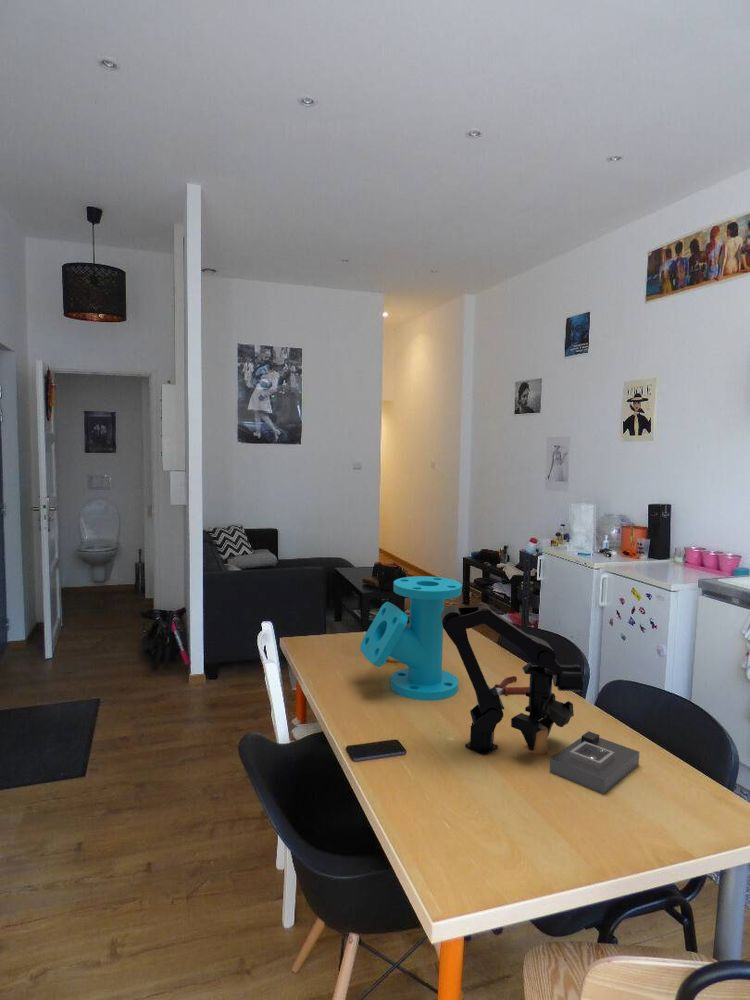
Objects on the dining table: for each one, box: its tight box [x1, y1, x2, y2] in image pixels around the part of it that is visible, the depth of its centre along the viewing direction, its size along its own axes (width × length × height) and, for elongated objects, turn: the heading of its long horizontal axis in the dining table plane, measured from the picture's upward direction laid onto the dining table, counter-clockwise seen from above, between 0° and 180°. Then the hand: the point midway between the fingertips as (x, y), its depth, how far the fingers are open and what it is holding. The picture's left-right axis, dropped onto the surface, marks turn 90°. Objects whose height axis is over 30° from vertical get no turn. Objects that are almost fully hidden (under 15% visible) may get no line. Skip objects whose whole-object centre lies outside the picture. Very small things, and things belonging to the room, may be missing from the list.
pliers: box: [493, 675, 529, 697], centre depth 207 cm, size 12×20×3 cm, turn 125°
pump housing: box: [527, 724, 549, 755], centre depth 168 cm, size 5×7×7 cm
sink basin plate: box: [549, 731, 640, 795], centre depth 158 cm, size 20×14×5 cm
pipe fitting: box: [359, 575, 463, 701], centre depth 207 cm, size 22×32×35 cm
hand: (537, 746), depth 168 cm, fingers open, 6 cm apart
